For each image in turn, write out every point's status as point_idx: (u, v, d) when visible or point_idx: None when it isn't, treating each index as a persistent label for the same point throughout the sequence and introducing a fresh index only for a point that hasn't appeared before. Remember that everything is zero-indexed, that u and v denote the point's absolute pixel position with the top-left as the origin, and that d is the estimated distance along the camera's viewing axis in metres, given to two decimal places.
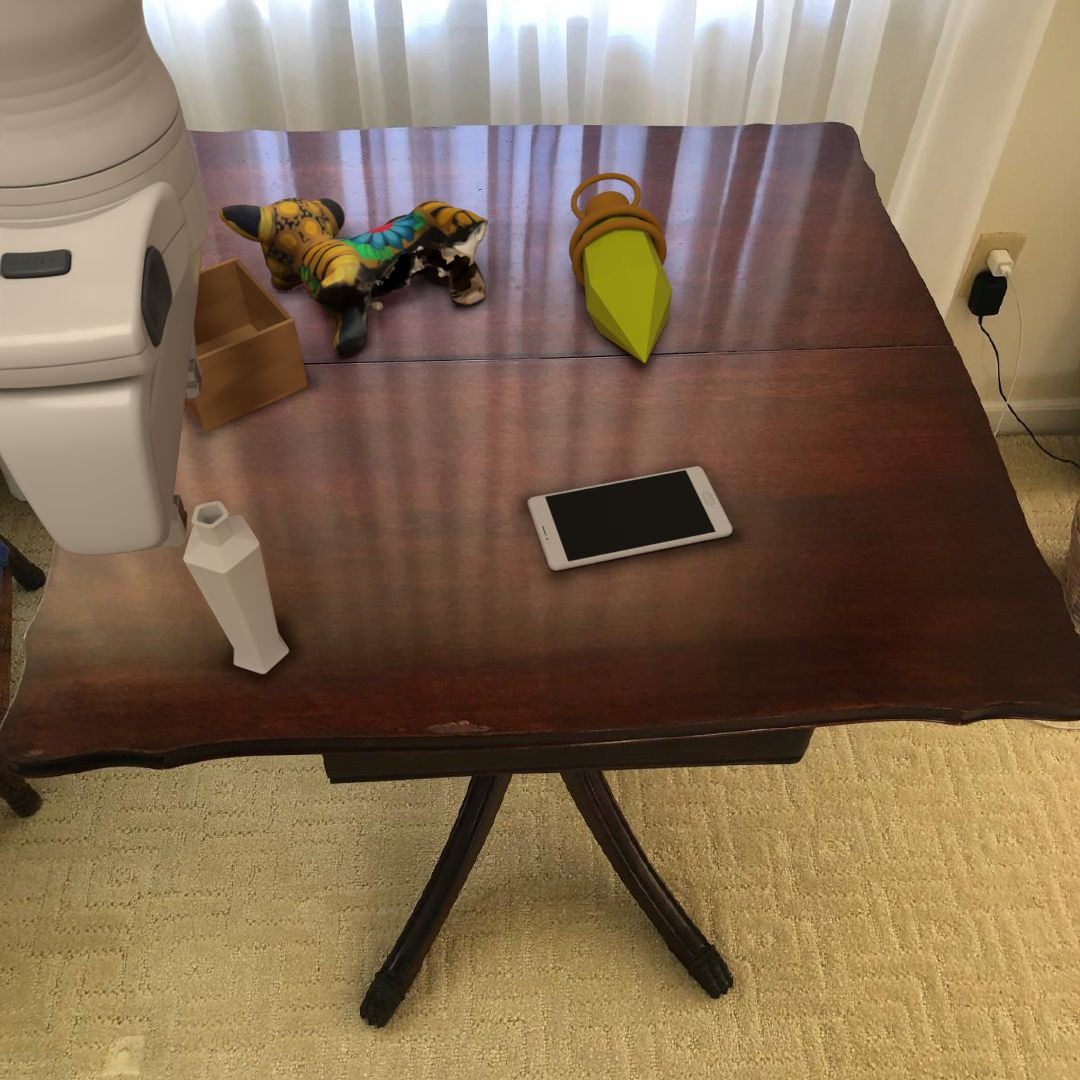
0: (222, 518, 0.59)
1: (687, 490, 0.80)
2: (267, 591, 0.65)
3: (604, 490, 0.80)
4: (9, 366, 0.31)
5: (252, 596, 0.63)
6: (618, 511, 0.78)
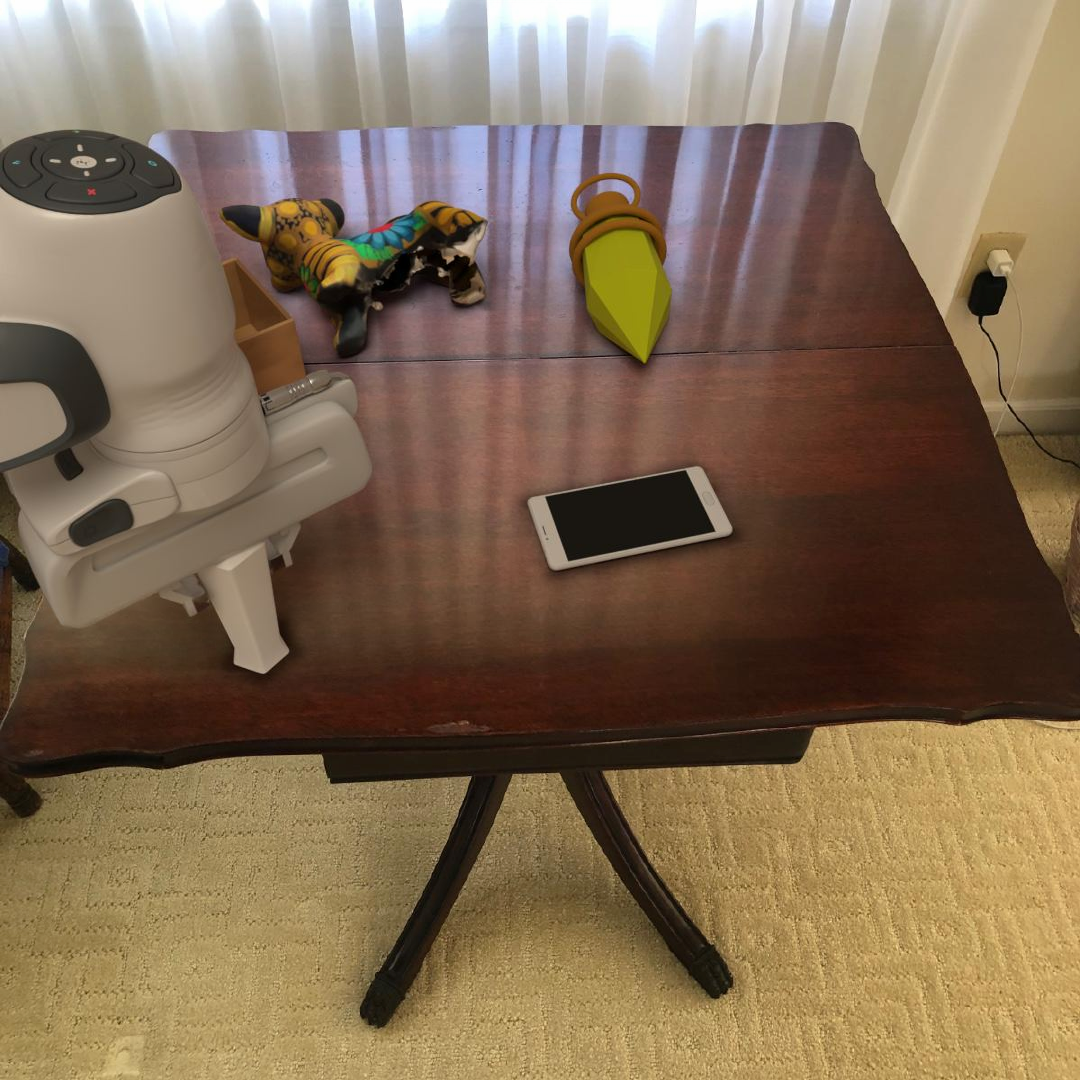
0: None
1: (687, 490, 0.80)
2: (270, 590, 0.65)
3: (604, 490, 0.80)
4: (16, 499, 0.51)
5: (255, 594, 0.63)
6: (618, 510, 0.78)
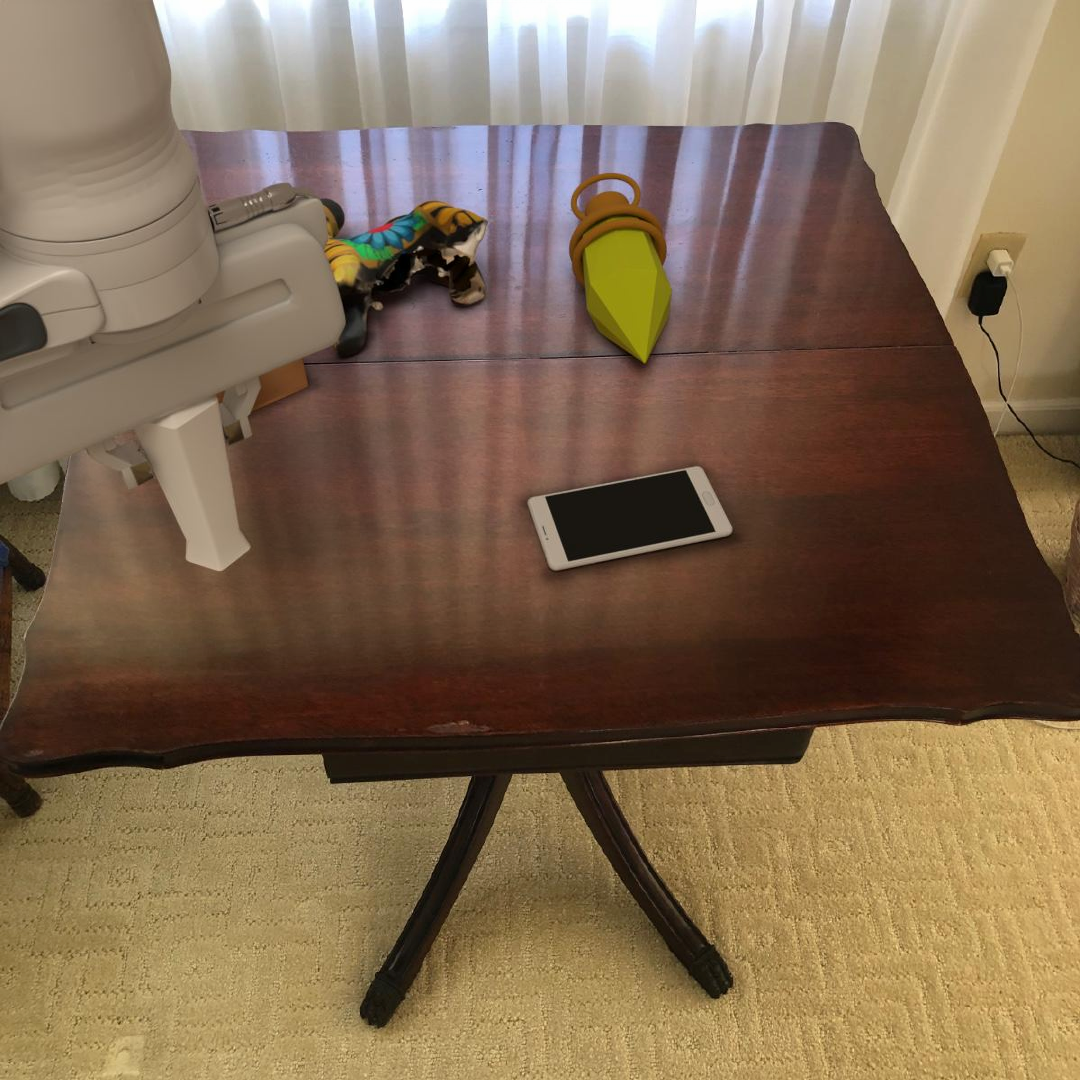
0: None
1: (687, 490, 0.80)
2: (226, 465, 0.55)
3: (604, 490, 0.80)
4: None
5: (207, 467, 0.54)
6: (618, 511, 0.78)
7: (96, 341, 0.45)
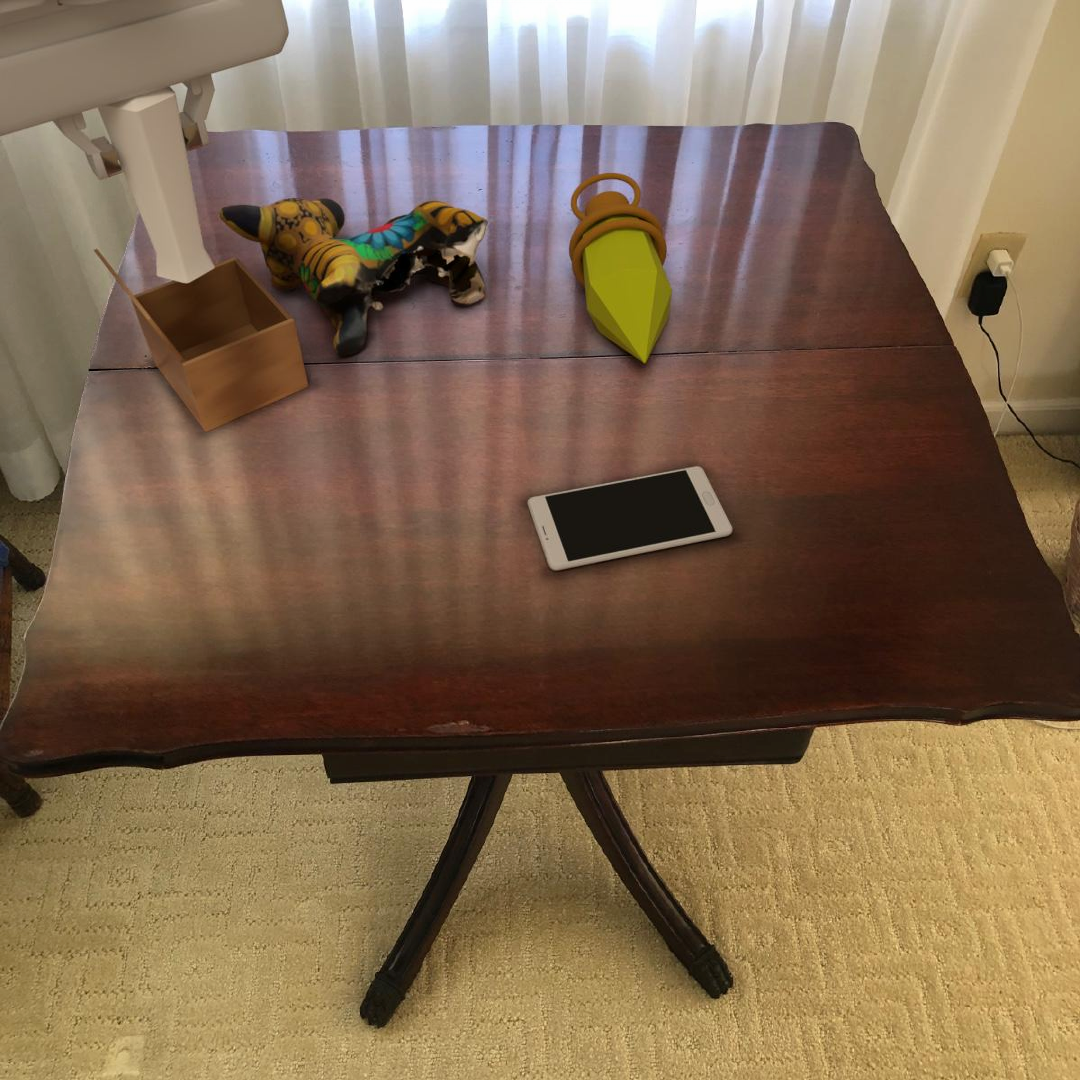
0: None
1: (687, 490, 0.80)
2: (187, 168, 0.63)
3: (604, 490, 0.80)
4: None
5: (169, 164, 0.61)
6: (618, 510, 0.78)
7: (62, 2, 0.52)
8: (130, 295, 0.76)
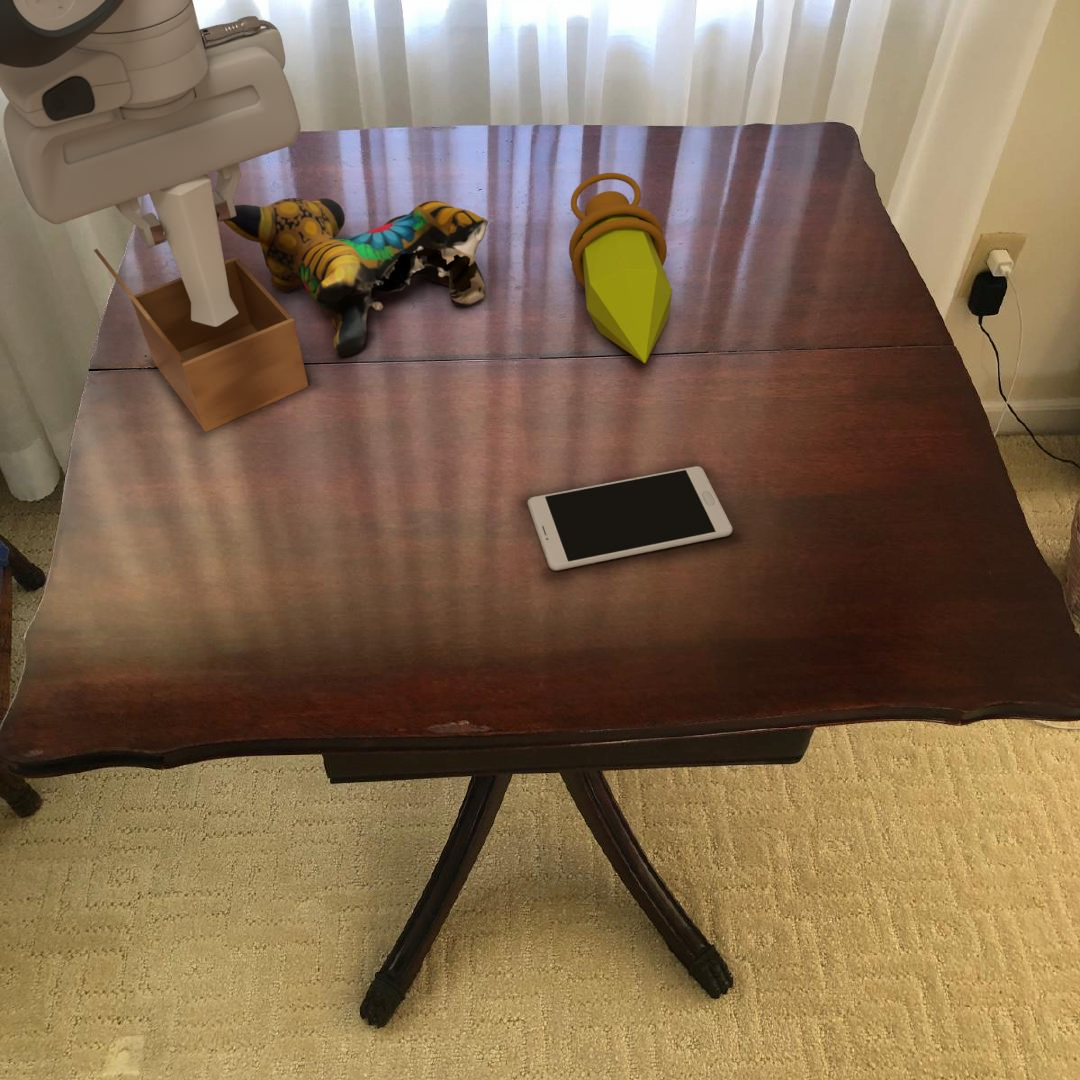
0: None
1: (687, 490, 0.80)
2: (218, 236, 0.77)
3: (604, 490, 0.80)
4: (1, 87, 0.64)
5: (204, 233, 0.76)
6: (618, 510, 0.78)
7: (126, 117, 0.67)
8: (130, 295, 0.76)
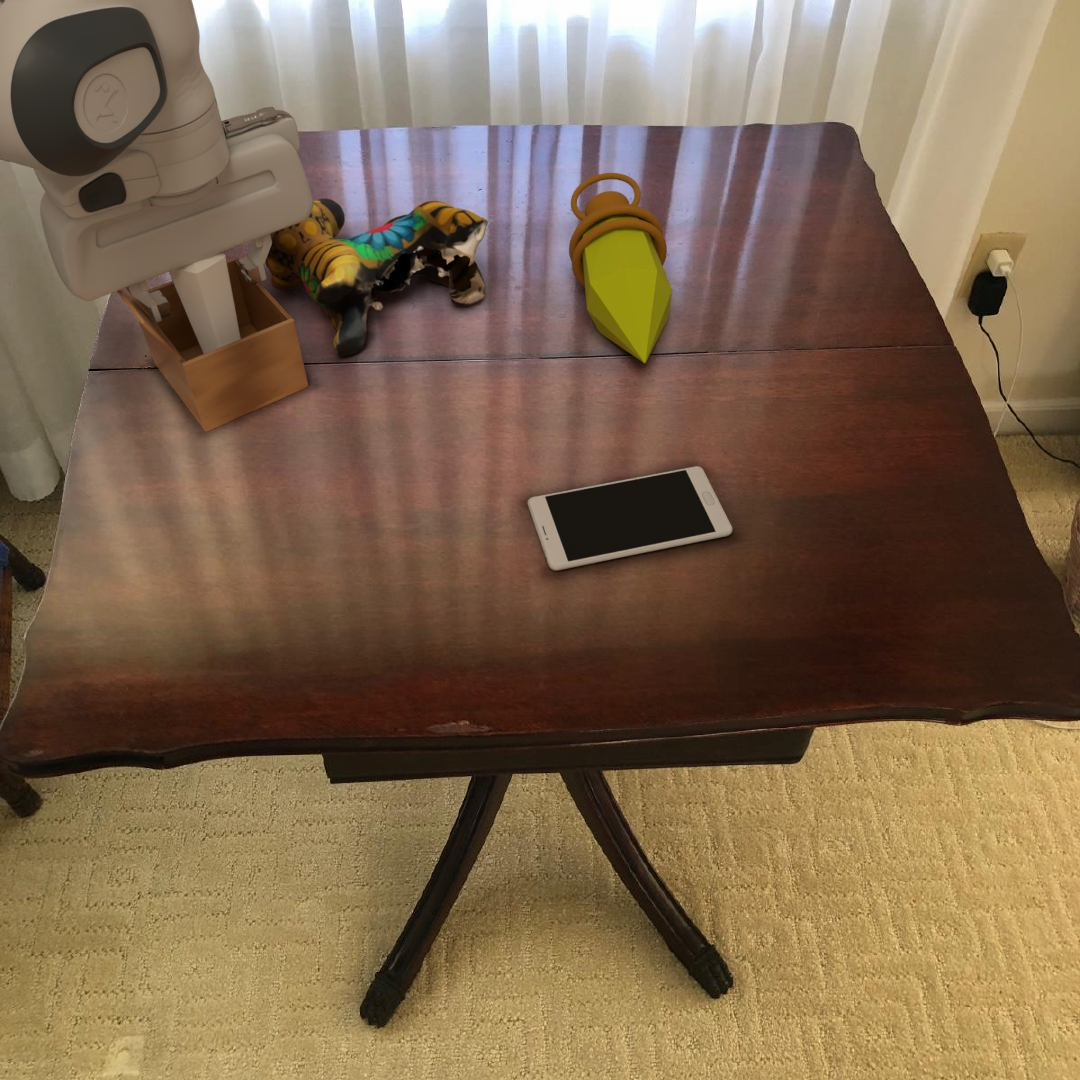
0: None
1: (687, 490, 0.80)
2: (233, 305, 0.82)
3: (604, 490, 0.80)
4: (39, 180, 0.69)
5: (220, 305, 0.81)
6: (618, 510, 0.78)
7: (153, 204, 0.72)
8: (124, 299, 0.75)
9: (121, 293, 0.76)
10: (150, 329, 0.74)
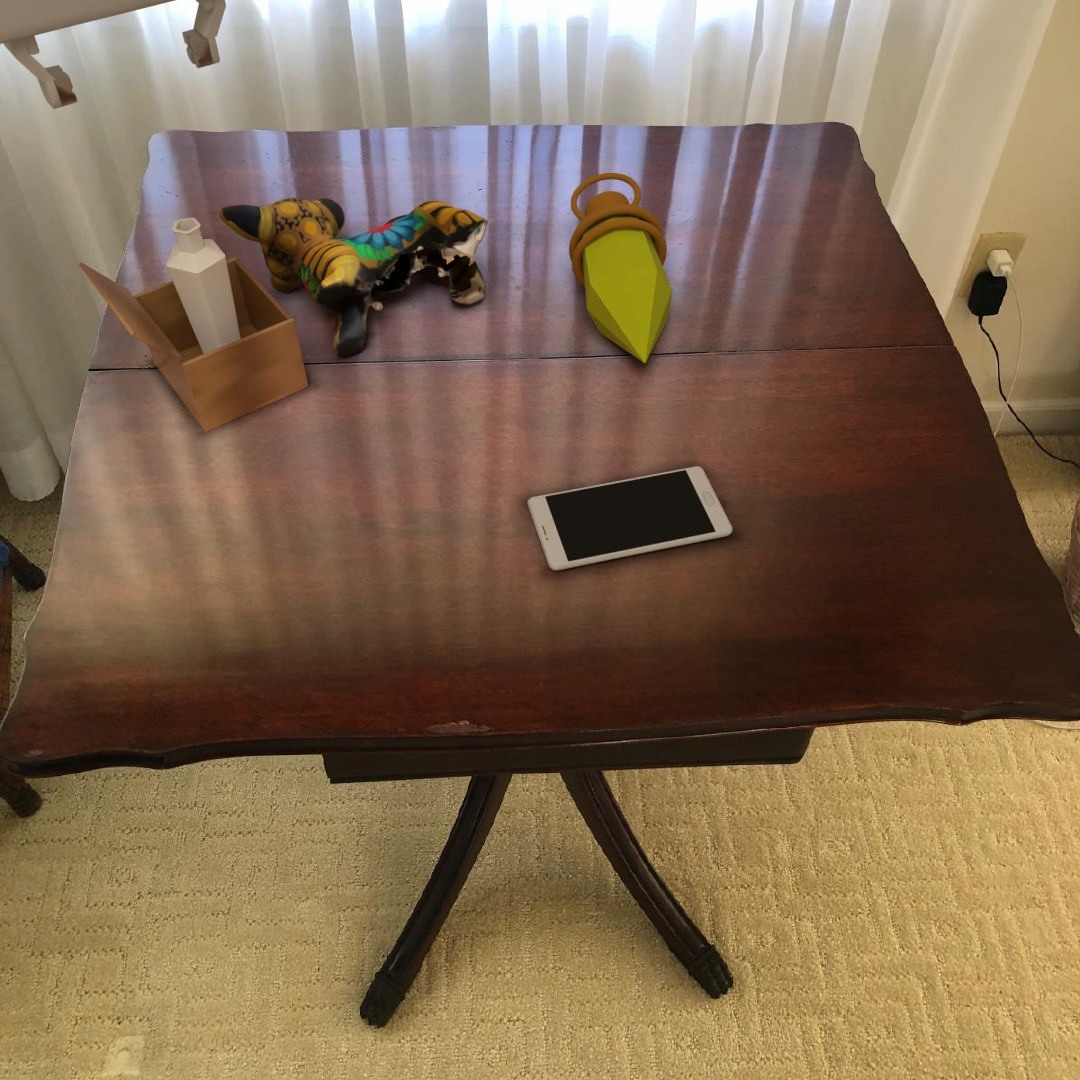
0: (195, 227, 0.76)
1: (687, 490, 0.80)
2: (233, 305, 0.82)
3: (604, 490, 0.80)
4: None
5: (220, 305, 0.81)
6: (618, 510, 0.78)
7: None
8: (114, 310, 0.75)
9: (110, 303, 0.76)
10: (141, 338, 0.74)
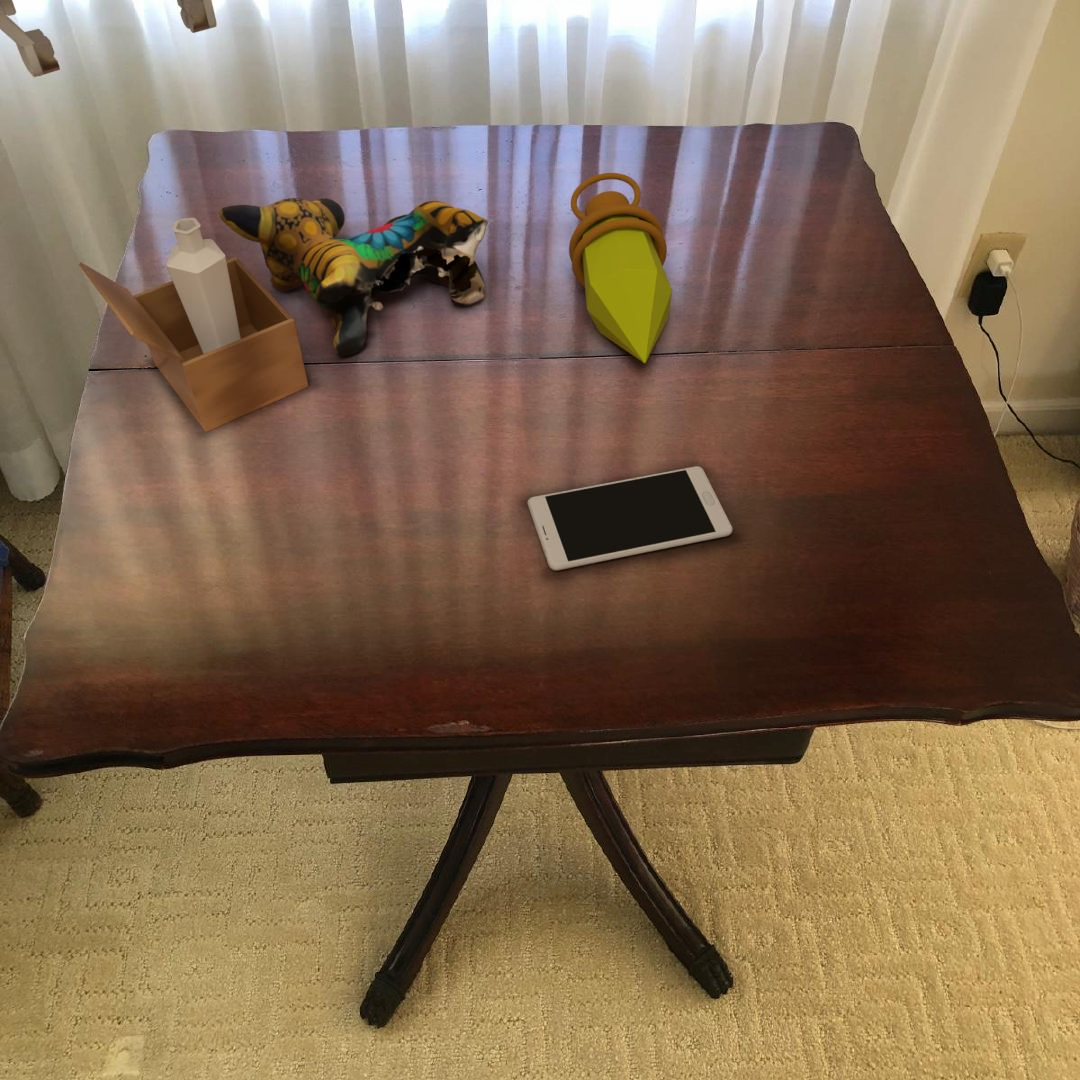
0: (195, 227, 0.76)
1: (687, 490, 0.80)
2: (233, 305, 0.82)
3: (604, 490, 0.80)
4: None
5: (220, 305, 0.81)
6: (618, 510, 0.78)
7: None
8: (114, 310, 0.75)
9: (110, 303, 0.76)
10: (141, 338, 0.74)
